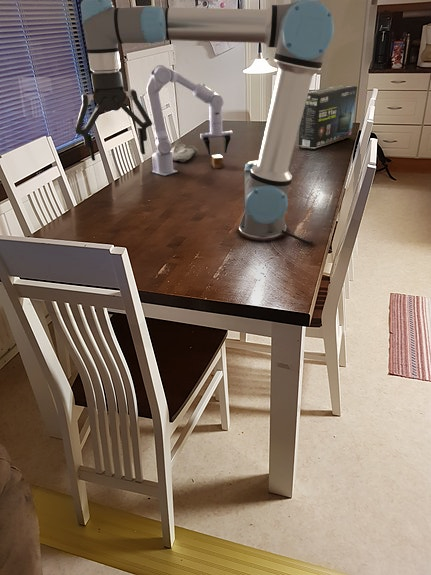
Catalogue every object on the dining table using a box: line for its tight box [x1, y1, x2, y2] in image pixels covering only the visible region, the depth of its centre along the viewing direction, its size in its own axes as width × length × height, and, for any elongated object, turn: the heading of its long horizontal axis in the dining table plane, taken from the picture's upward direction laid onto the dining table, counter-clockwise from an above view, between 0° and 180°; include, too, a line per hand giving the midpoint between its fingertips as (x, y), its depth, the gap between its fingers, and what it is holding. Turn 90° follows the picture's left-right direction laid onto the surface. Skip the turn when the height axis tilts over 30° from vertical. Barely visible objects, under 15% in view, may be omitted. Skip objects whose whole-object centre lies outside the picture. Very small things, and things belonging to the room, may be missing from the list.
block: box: [211, 154, 224, 169], centre depth 214 cm, size 4×5×5 cm
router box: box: [297, 84, 358, 151], centre depth 238 cm, size 36×11×27 cm, turn 134°
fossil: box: [171, 142, 199, 163], centre depth 229 cm, size 18×11×15 cm
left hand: (217, 153), depth 211 cm, fingers open, 7 cm apart
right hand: (118, 156), depth 126 cm, fingers open, 13 cm apart
